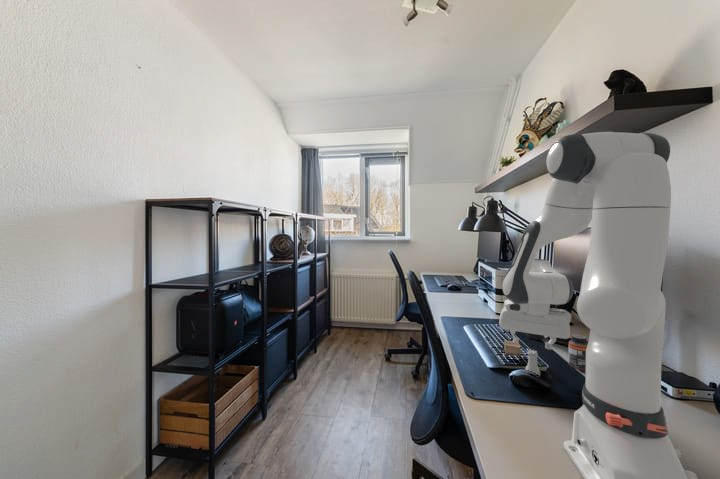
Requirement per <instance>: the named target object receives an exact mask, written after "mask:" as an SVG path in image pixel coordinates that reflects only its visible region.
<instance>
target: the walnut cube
mask: <svg viewBox="0 0 720 479" xmlns="http://www.w3.org/2000/svg"><path fill="white" fill-rule="evenodd" d="M503 342H504V343H503V344H504V345H503V346H504V348H503V351H504V350H505V354H510V355H516V356H521V354H522V353H521V351H522V350H521V348H522V347H521V345H520V344H521V343H519V344H516V343H514V342H513V340H503Z"/></svg>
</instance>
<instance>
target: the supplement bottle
mask: <svg viewBox="0 0 720 479" xmlns="http://www.w3.org/2000/svg"><path fill="white" fill-rule="evenodd" d="M587 345H588V341H587V337H586V336H584V335H582V334H577V333H576V334H572V335H571V339H570V340H569V341H568V365H569V366H570V367H571V368H573V369H576V370H578V371H582V372H586V348H587Z"/></svg>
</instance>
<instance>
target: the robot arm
mask: <svg viewBox="0 0 720 479" xmlns="http://www.w3.org/2000/svg"><path fill="white" fill-rule="evenodd" d="M670 154H671V145H670V143H669V141H668V140H667V138H666V137H665V136H662V135H660V134H656V133H651V132H638V133H635V132H617V131H616V132H615V131H599V132H589V133H582V134H581V133H571V134H568V135H564V136H560V137H558V138H557V139H556V140H554V142H553V143H552V145H551V146H550V147H549V149H548V151H547V154H546V158H545V169H546V171H547V173H548V175H549V176H550V177H552V180H551V182H550V184H549V188H548V190H547V194H546V197H545V201H544V206H543V208H542V210H541V212H540V214H539V215H538V216H537V218H536V219H535V220H534V221H532V222H530V223H528V225H527V226H526V227H525V229H524V232H523V234H522V236H521V238H520V241H519V243H518V246H517V249H516V252H515V254H514V256H513V259H512V262H511V264H510V266H509V269H508V271H507V272H506V274H504V275H505V276H504V277H503V280H502V283H501V287H502V288H501V289H502V293H503V295H504V296H505V297H506V298H507V299H504V302H503V308H501V311H500V313H499V314H500V315H499V320H498V324H499V327H500V328H501V329H502V330H507V331H509V332H510V334H511V336H512V338H513V339H512V341H513V342H514V343H516V344H520V342H519V341H520V339H519V337H518V336H516V335H515V334H516V332H518V333H519V332H520V333H524V334H526V333H531V334H537V335H544V337H549V338H550V339H549V340H548V341H545V342H544V348H545V349H546V350H552V348H553V346H552V345H554V344H555V343H556V341H557V338H558V339H564V340H568V339H569V338H570V337H571V327H570V323H571V320H572V314H571V313H570V312H569V311H567V310H566V309H563V308H562V309H561V308H555V307H550V306H551V305H558V306H559V305H565V304H567V303H569V302H570V300H571V299H572V297H573V295H574V285H573V282H572V281H571V280H570V278H569V277H568V276H566V275H565V274H562V273H560V272H559V271H557V270H556V269H555V268H554V267H552V264H551V262H550V261H549V260H547V259H545V258H544V259H543V258H540V259H539V258H536V256H537V254H538V253H539V251H540V250H541V249H542V248H543V247H545V246H547V245H549V244H551V243H553V242H557V241H560V240H563V239H567V238H571V237H574V236H576V235H578V234H580V233H581V232H583V231H584V230H586V229H587V228H588V227H589V225H590V224H591V225H590V240H589V247H588V249H589V250H588V253H587V257H586V259H585V260H586V261H585V265H584V269H583V273H582V277H581V278H582V279H581V284H580V291H579V296H578V298H577V301H576V312H577V315H578V317H579V319H580V320H581V322H582V323H583V325H585V327H587V328H588V329H589V336H588V337H589V338H588V341H587V343H588V345H587V348H586V371H585V383H584V384H583V385H582V391H581V395H582V403H583V404H582V406H581V407H579V408H578V409H576V410H575V411H574V413H573V421H572V422H573V423H572V434H571V435H572V436H571V439H569V440H568V439H567V440H565V441H564V442H563V449H564V450H565V452H566V453H567V455H568V457H569V458H570V460H571V461H572V462H573V464H574V465H575V467H576V468H577V470H578V472H579V473H580V474H581V476H582V477H583V479H699V478H698V476H697V474H696V473H695V472H694V471H690V470H688V469H684V467H683V465H682V463H681V460H680V459H682V453H681V451H680V449H677V448H675V447H674V445H673V443H672V441H671V438H670V436H669V435H668V434H669V431H668V426H667V424H668V423H667V418H666V415H665V412H664V408H663V406H662V403H661V402H662V400H661V399H662V398H661V397H662V396H661V395H662V394H661V393H662V364H663V362H662V361H663V353H664V352H663V350H664V338H665V327H666V326H665V321H666V298H665V295H664V293H663V292H662V291H663V290H661V289H662V284H663V283H662V282H663V277H664V275H663V274H664V270H665V262H666V259H667V258H666V257H667V252H668V242H669V231H670V220H671V219H670V217H671V207H672V188H671V178H670V172H669V168H668V161H669V158H670Z"/></svg>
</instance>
